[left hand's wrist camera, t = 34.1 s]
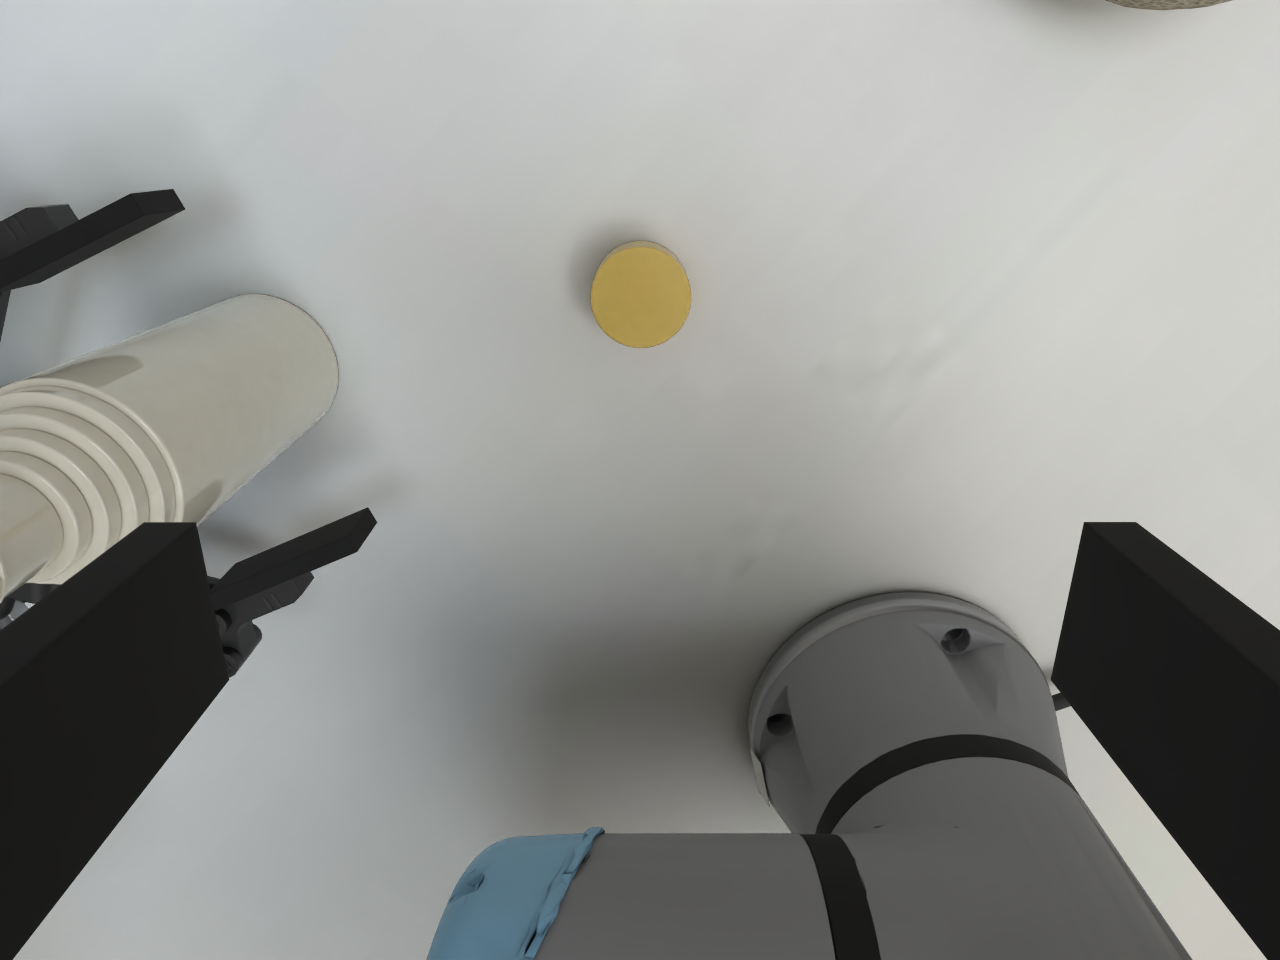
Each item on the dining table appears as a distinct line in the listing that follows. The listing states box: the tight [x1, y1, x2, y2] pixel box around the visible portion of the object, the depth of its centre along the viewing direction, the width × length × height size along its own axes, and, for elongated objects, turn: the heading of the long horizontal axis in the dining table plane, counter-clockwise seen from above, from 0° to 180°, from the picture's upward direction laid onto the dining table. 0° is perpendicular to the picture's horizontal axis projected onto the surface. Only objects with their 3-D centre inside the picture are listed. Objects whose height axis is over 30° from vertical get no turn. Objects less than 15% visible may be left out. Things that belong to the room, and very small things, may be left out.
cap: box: [591, 241, 691, 348], centre depth 35 cm, size 4×4×2 cm
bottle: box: [0, 294, 338, 604], centre depth 29 cm, size 6×6×19 cm
